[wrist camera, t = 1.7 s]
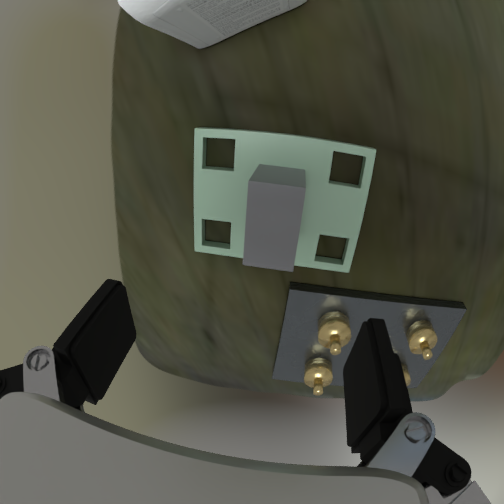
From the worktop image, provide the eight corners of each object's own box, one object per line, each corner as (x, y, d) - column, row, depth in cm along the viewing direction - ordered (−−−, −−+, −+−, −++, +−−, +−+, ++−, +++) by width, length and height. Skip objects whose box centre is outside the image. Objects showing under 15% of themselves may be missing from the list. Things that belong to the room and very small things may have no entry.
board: (373, 147, 21) (396, 163, 15) (347, 266, 26) (356, 308, 21) (198, 127, 22) (168, 136, 17) (198, 246, 27) (174, 282, 22)
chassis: (462, 302, 26) (479, 332, 21) (414, 380, 33) (421, 409, 28) (290, 281, 28) (287, 316, 23) (273, 371, 35) (268, 403, 30)
